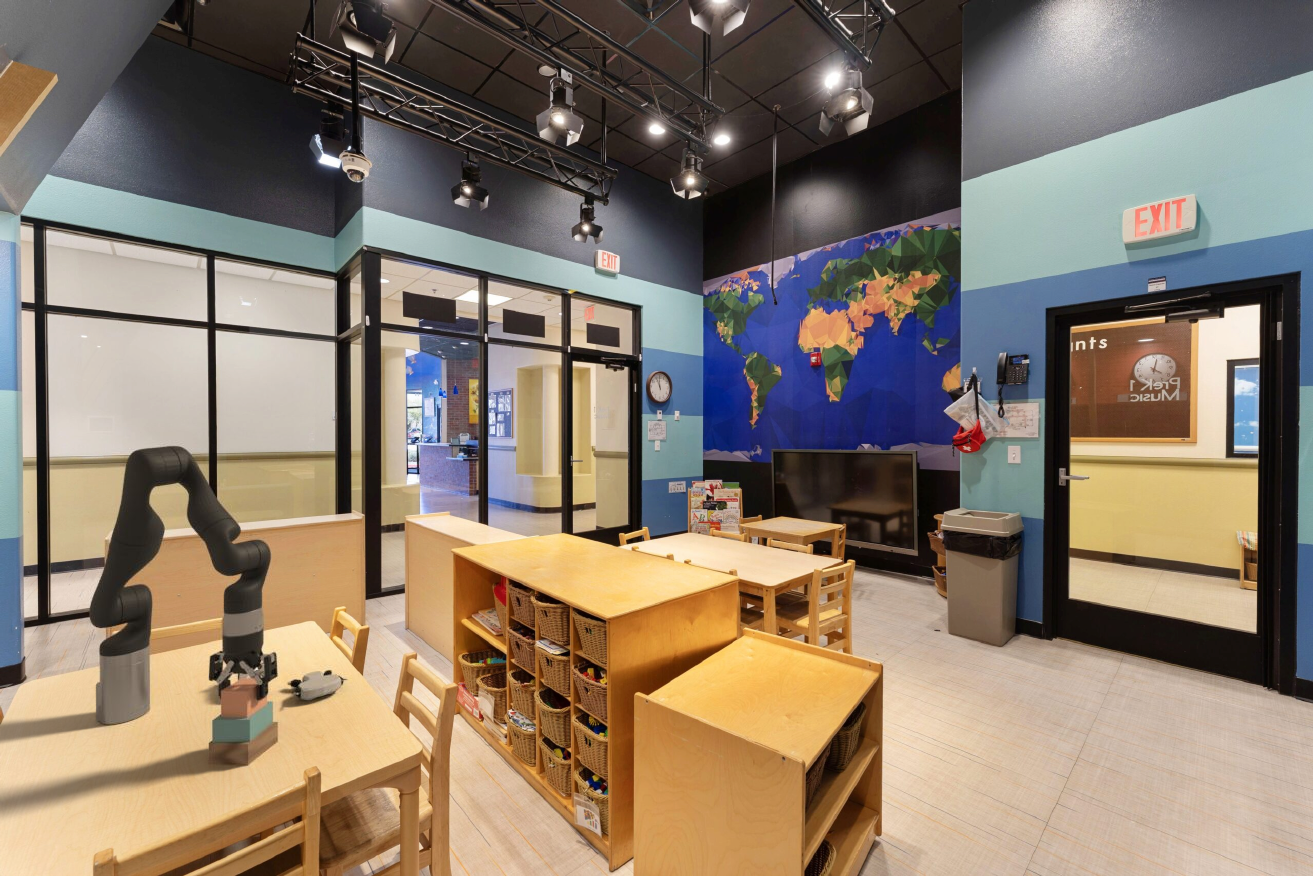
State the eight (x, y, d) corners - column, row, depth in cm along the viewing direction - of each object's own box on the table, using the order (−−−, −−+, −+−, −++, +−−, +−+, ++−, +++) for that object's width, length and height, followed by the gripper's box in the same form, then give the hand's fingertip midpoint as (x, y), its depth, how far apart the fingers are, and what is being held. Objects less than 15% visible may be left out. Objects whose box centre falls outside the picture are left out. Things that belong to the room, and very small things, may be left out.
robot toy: (284, 693, 153) (297, 709, 143) (284, 677, 154) (297, 691, 143) (333, 679, 162) (348, 693, 152) (333, 664, 162) (348, 677, 152)
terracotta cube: (221, 717, 121) (221, 690, 121) (242, 703, 127) (242, 678, 127) (247, 717, 121) (247, 691, 121) (267, 704, 127) (267, 679, 127)
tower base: (208, 765, 120) (208, 743, 120) (240, 741, 129) (240, 720, 129) (248, 766, 120) (248, 744, 120) (277, 742, 129) (277, 722, 129)
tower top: (212, 742, 120) (212, 720, 120) (237, 722, 128) (237, 702, 128) (249, 741, 120) (249, 719, 120) (272, 722, 128) (272, 701, 128)
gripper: (198, 634, 120) (198, 706, 120) (261, 635, 120) (261, 707, 120) (226, 622, 128) (226, 689, 128) (285, 623, 127) (285, 691, 128)
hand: (243, 698), depth 124 cm, fingers open, 8 cm apart
